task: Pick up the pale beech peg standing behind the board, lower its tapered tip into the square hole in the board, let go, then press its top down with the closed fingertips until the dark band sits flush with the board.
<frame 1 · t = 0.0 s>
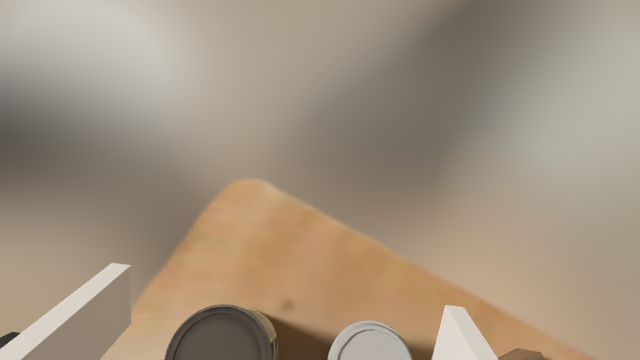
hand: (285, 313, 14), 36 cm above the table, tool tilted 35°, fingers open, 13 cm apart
coffee can: (241, 346, 45), on the table
disposable coffee cup: (354, 356, 46), on the table
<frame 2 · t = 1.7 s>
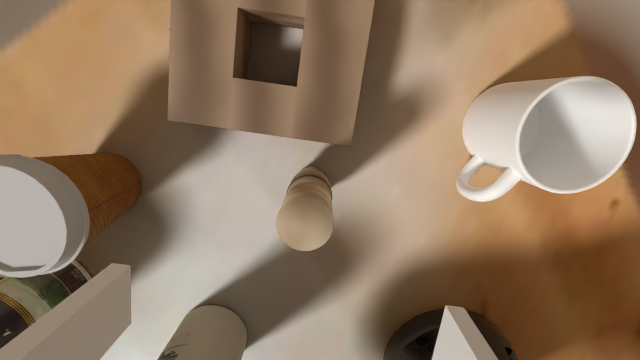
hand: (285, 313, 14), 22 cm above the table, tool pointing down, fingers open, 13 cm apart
board: (276, 55, 32), on the table
coffee can: (54, 288, 39), on the table
peg: (311, 182, 35), on the table
cup: (486, 139, 34), on the table
disposable coffee cup: (113, 181, 35), on the table
travel mug: (215, 331, 40), on the table
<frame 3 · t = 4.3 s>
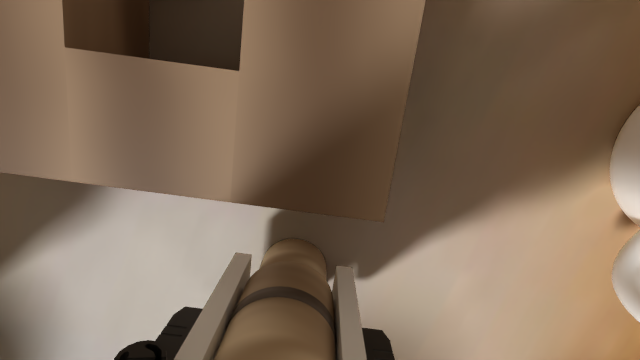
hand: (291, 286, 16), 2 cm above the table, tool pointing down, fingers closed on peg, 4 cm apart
board: (211, 7, 14), on the table
peg: (294, 268, 17), on the table, touching gripper
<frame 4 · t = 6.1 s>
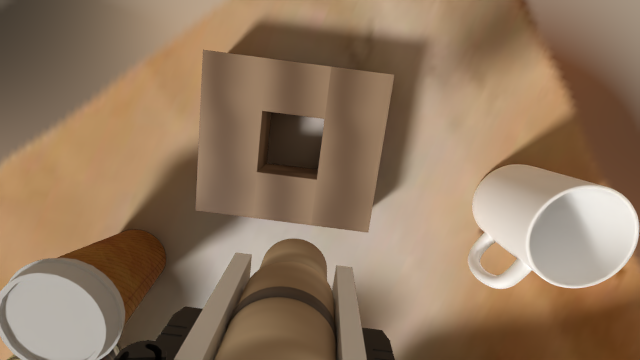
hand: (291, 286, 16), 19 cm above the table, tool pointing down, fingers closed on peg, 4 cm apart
board: (295, 140, 34), on the table
peg: (294, 268, 17), point 18 cm above the table, touching gripper
cup: (495, 213, 35), on the table
disposable coffee cup: (139, 255, 37), on the table
when the fingers open (6 cm above the table, at t = 8.3 s): peg drops 4 cm, resting in board.
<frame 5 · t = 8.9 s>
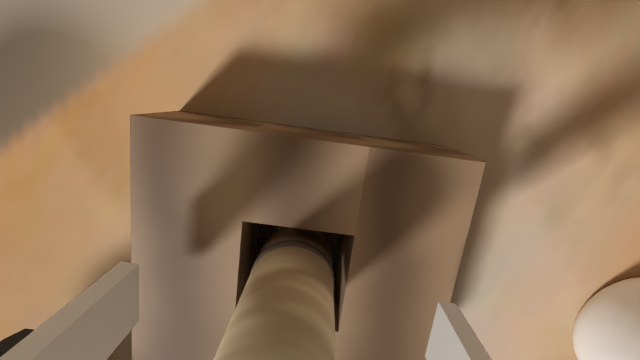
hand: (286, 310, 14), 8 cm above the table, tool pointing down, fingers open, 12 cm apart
board: (299, 237, 21), on the table
peg: (300, 237, 21), resting in board
cup: (604, 342, 23), on the table
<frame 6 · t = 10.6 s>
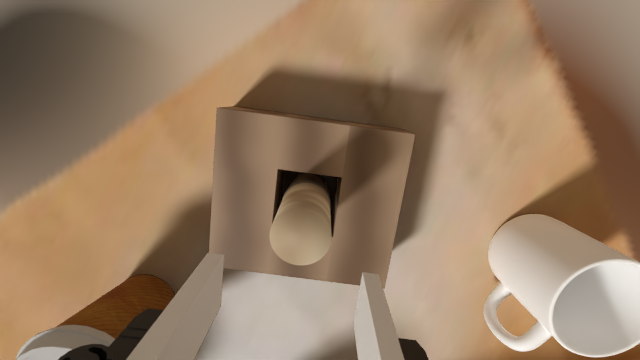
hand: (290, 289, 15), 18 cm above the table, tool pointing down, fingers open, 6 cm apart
board: (308, 188, 33), on the table
peg: (309, 188, 33), resting in board
cup: (510, 260, 35), on the table
disposable coffee cup: (148, 298, 36), on the table
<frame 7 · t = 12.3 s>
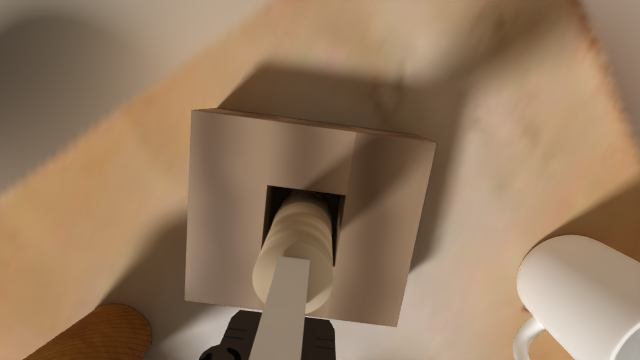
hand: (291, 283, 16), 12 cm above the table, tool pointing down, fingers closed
board: (306, 204, 28), on the table
peg: (306, 204, 28), resting in board, touching gripper
cup: (542, 288, 30), on the table
disposable coffee cup: (120, 330, 31), on the table
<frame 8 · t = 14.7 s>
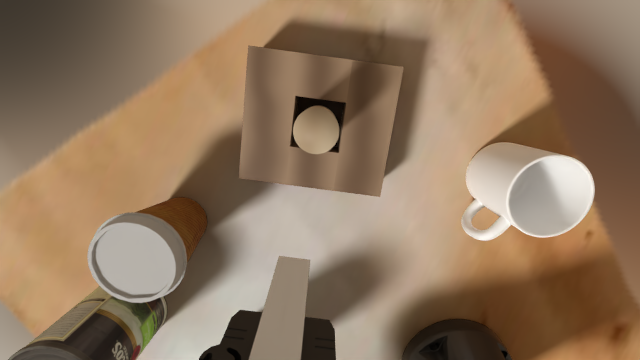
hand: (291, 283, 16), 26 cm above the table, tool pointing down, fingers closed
board: (318, 121, 40), on the table
coffee can: (132, 304, 47), on the table
peg: (318, 121, 40), resting in board
cup: (484, 184, 42), on the table
disposable coffee cup: (184, 219, 44), on the table
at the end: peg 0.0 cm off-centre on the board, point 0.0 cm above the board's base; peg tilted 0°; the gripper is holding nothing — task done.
